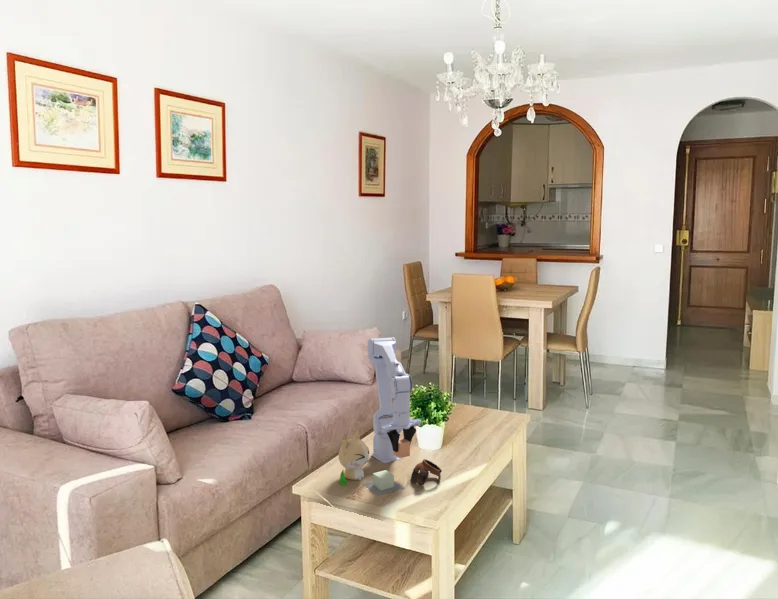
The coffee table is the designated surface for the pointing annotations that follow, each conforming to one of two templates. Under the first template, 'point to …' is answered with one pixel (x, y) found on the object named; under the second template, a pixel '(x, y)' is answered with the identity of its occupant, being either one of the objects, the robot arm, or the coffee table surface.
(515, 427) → the coffee table surface
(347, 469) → the kitten
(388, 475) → the brick
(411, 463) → the coffee table surface
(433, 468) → the brown ring with handle
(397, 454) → the brick
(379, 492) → the plate
